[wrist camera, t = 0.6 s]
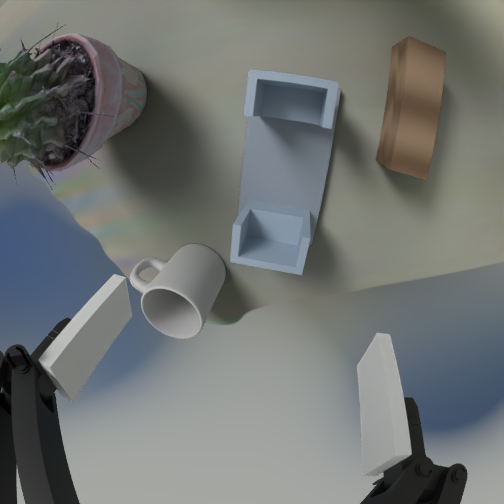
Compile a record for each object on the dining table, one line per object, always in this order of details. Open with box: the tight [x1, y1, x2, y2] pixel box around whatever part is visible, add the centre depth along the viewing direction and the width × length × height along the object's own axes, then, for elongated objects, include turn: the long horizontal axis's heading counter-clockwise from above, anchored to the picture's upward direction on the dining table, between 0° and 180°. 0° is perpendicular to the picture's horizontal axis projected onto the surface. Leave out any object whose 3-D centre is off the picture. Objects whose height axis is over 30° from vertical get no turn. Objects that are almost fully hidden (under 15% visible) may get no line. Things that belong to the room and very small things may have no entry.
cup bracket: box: [230, 70, 341, 275], centre depth 28 cm, size 20×10×9 cm, turn 174°
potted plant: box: [0, 21, 147, 189], centre depth 20 cm, size 18×20×25 cm
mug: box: [130, 244, 226, 339], centre depth 37 cm, size 12×8×11 cm
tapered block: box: [376, 36, 446, 180], centre depth 23 cm, size 15×4×6 cm, turn 174°
